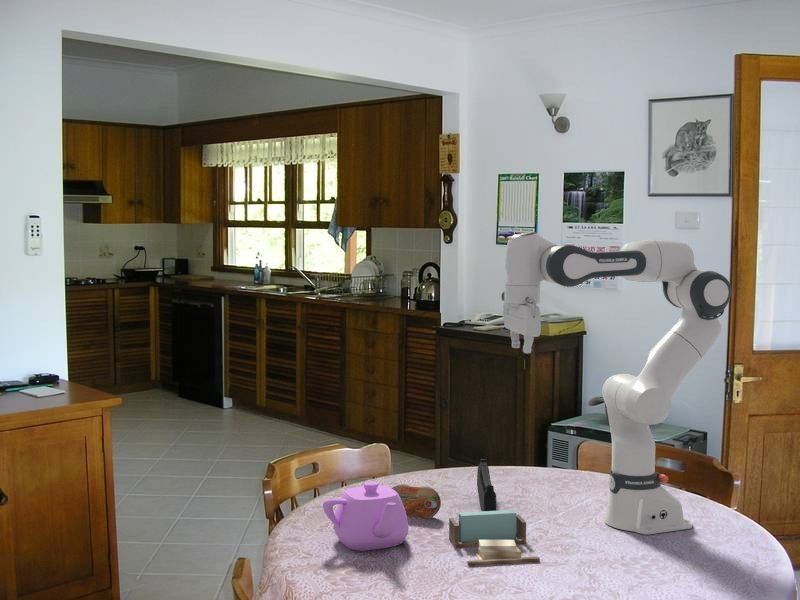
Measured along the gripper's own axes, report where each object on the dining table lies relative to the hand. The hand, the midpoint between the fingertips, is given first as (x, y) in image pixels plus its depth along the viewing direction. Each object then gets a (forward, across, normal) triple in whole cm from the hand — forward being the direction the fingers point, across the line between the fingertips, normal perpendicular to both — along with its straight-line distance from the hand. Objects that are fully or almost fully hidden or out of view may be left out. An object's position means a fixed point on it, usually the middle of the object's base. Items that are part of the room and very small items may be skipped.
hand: (521, 350), depth 225 cm
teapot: (+47, -4, +39) cm, 61 cm away
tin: (+47, +15, +25) cm, 55 cm away
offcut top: (+45, -18, +11) cm, 49 cm away
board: (+47, -9, +11) cm, 49 cm away
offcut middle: (+46, -19, +10) cm, 51 cm away
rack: (+47, -14, +11) cm, 50 cm away
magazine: (+47, +18, +4) cm, 51 cm away
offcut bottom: (+48, -19, +11) cm, 52 cm away
